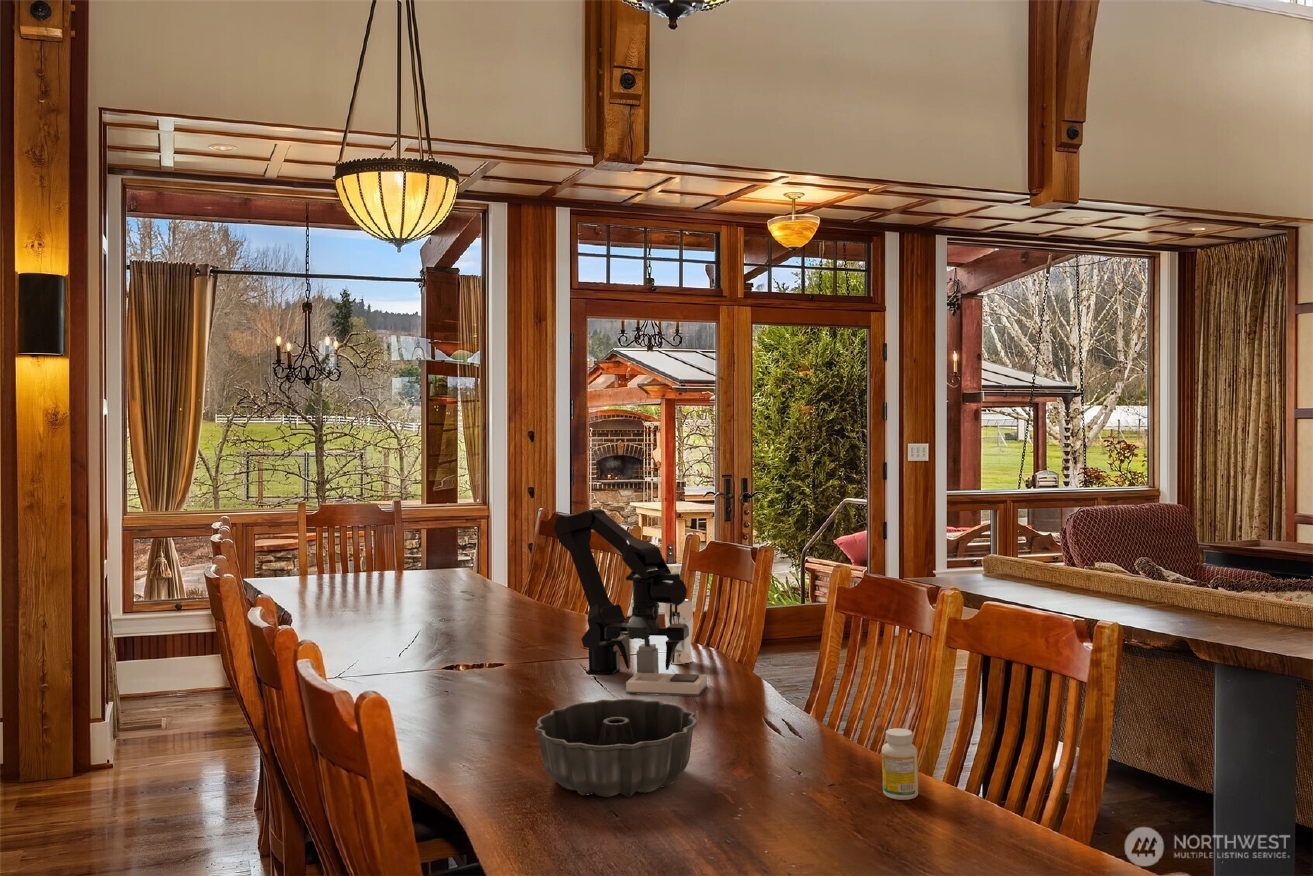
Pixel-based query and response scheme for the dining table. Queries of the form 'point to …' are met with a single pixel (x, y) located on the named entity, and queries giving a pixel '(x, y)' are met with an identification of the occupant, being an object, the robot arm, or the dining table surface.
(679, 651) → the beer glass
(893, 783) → the supplement bottle
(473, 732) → the dining table surface
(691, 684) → the beige flat block
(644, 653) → the plug
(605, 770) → the bundt pan
